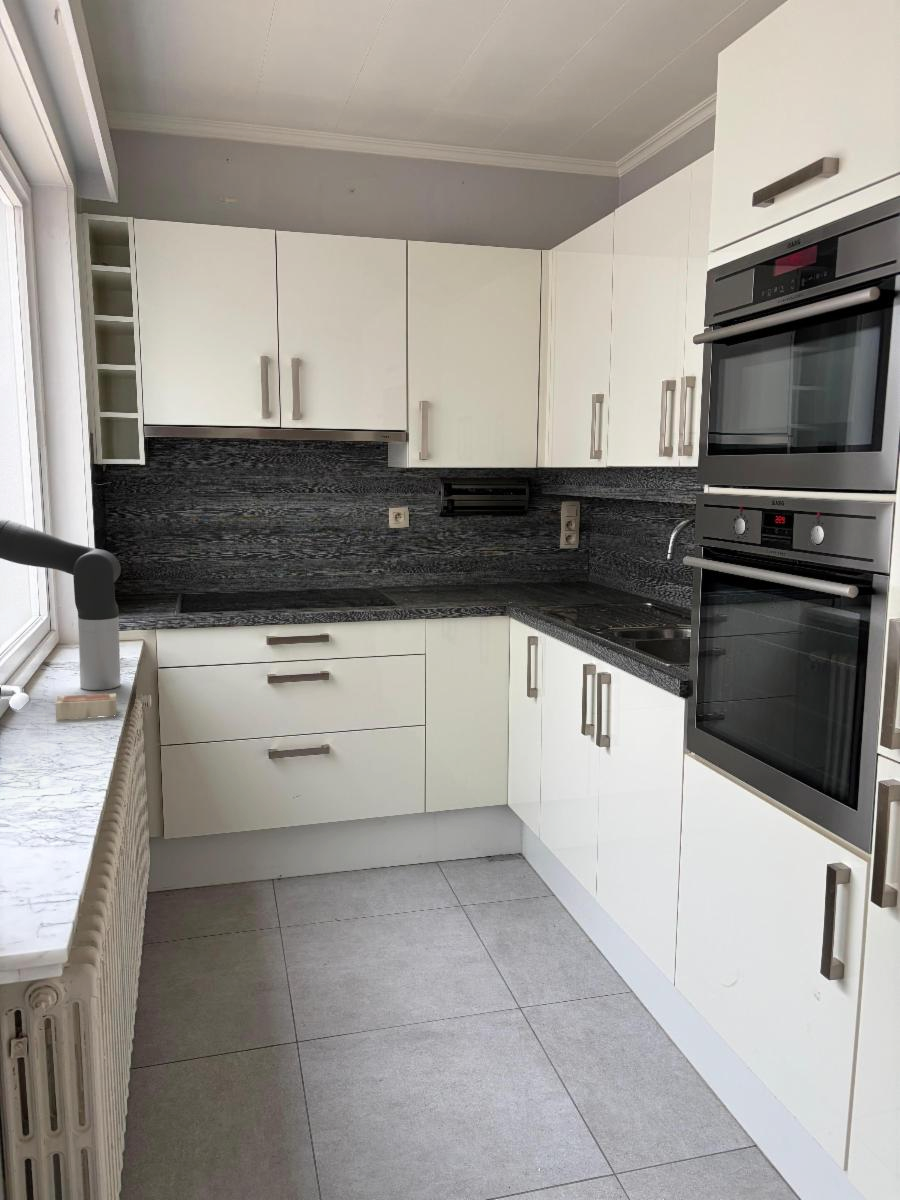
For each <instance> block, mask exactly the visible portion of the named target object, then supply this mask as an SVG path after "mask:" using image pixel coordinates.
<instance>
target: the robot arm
mask: <svg viewBox="0 0 900 1200" xmlns="http://www.w3.org/2000/svg"><path fill="white" fill-rule="evenodd" d="M0 559H2V560H4V561H8V562H11V563H14V564H19V565H23V566H31V567H38V568H43V569H52V570H57V571H60V572H63V573H66V574H69V575H72V576H73V592H74V593H73V595H74V604H75V607H76V610H77V611H76V612H77V621H78V623H77V624H78V625H77V626H78V627H77V628H78V629H77V630H78V649H79V650H78V652H79V653H78V654H79V656H78V657H79V686H80V688H81V689H83V690H88V691H103V690H111V689H115V688H118V687H121V659H120V658H121V654H120V650H121V649H120V648H121V647H120V625H119V624H120V622H119V621H120V620H119V619H120V618H119V617H120V616H119V614H120V612H119V605H118V604H117V601H116V595H115V582H116V581H117V580H118V578H119V577H120V575H121V572H122V571H121V570H122V569H121V568H122V566H121V563H120V562H119V561H120V560H118V558H117V557H116V556H115V555H114V554H113V553H111V552H109V551H108V550H105V549H99V548H94V547H90V546H85V545H81V544H76V543H73V542H69V541H66V540H65V539H64V540H63V539H61V538H59V537H56V536H54V535H51V534H49V533H46V532H44V531H41V530H39V529H35V528H32V527H30V526H27V525H25V524H22V523H18V522H15V521H12V520H9V519H7V518H0Z"/></svg>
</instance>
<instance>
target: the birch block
mask: <svg viewBox="0 0 900 1200" xmlns="http://www.w3.org/2000/svg"><path fill="white" fill-rule="evenodd" d="M116 709H117V693H115V692H114V693H97V694H96V693H95V694H94V693H93V694H73V695H71V694H70V695H64V696H63V695H62V696H60V695H59V696H57V698H56V701H55V719H70V720H76V719H75V718H86V719H89V718H88V717H98V716H114V715H115V716H116V717H117V710H116Z"/></svg>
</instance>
